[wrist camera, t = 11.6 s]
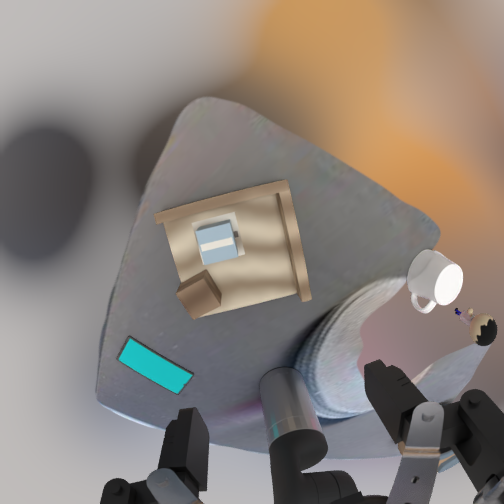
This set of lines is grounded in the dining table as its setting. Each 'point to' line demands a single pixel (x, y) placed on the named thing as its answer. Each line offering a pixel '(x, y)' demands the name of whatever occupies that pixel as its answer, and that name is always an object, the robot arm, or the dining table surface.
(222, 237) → the block
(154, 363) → the flat teal bar
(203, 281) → the walnut block
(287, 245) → the tray
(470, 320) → the toy
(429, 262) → the mug
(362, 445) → the dining table surface
